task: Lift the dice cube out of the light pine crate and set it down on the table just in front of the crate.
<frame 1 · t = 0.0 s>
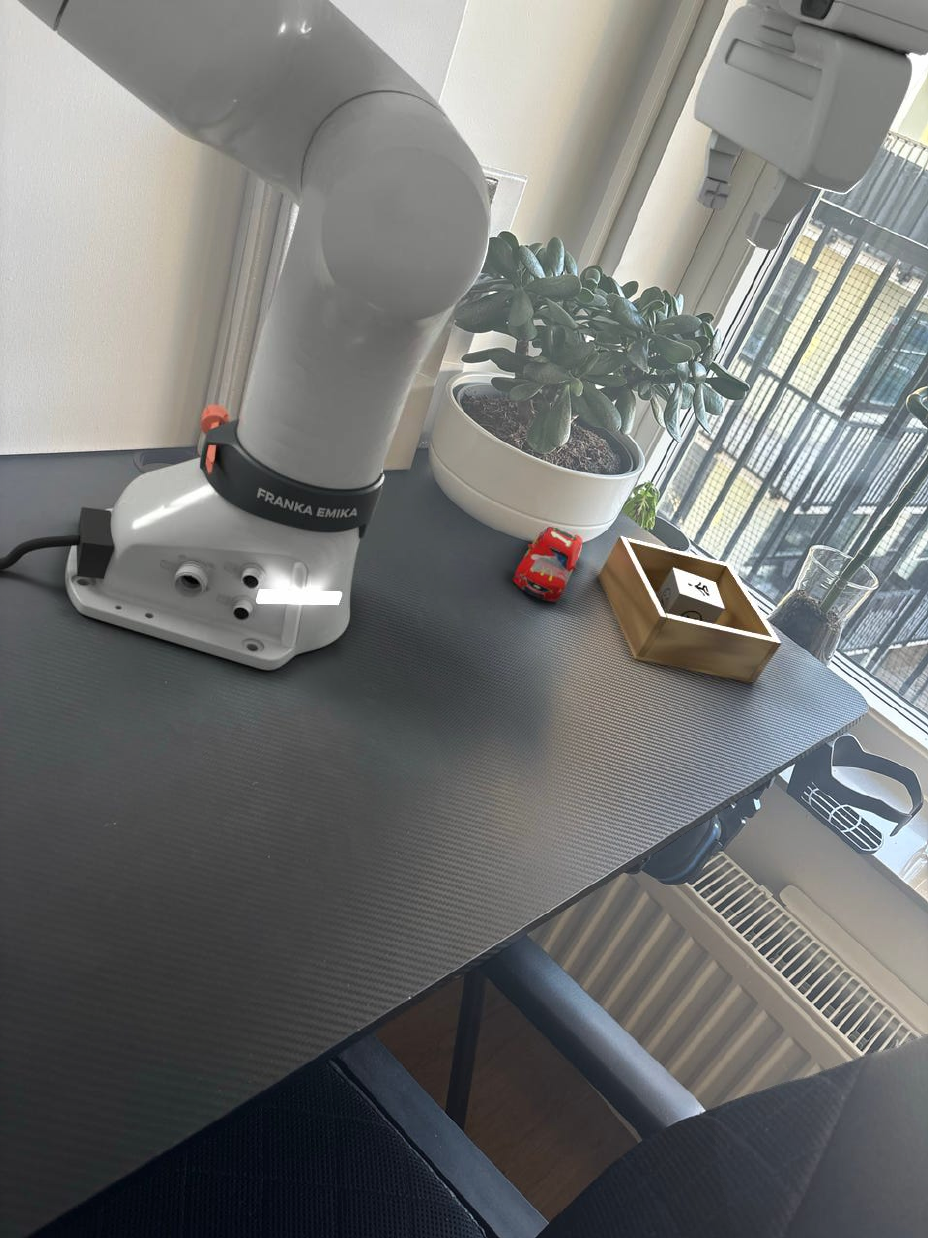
hand: (732, 224, 65), 39 cm above the table, tool pointing down, fingers open, 8 cm apart
dice cube: (674, 626, 100), resting on crate
crate: (673, 628, 100), on the table
race car: (542, 574, 99), on the table
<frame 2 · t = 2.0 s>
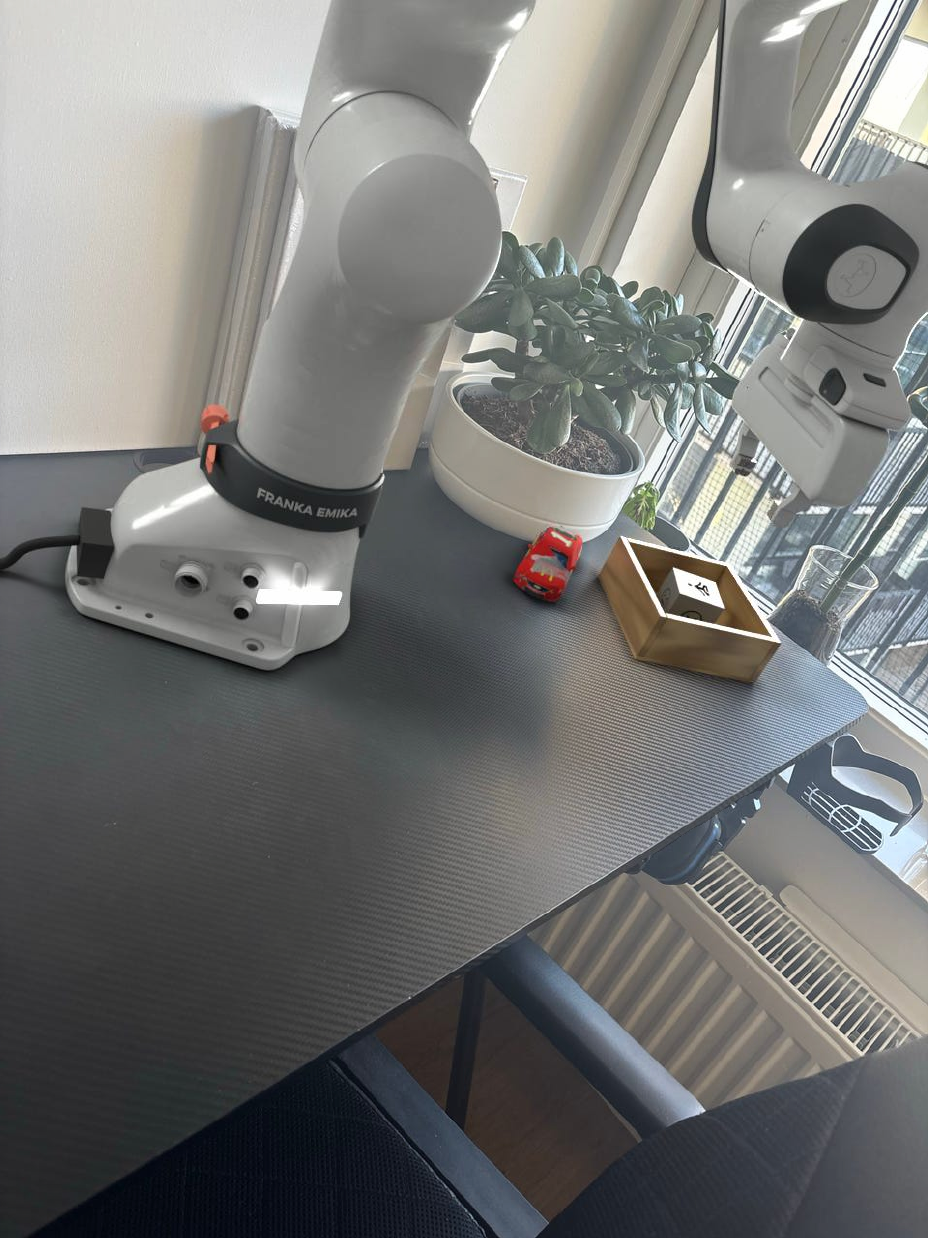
hand: (755, 496, 91), 17 cm above the table, tool pointing down, fingers open, 8 cm apart
nothing on the table moved.
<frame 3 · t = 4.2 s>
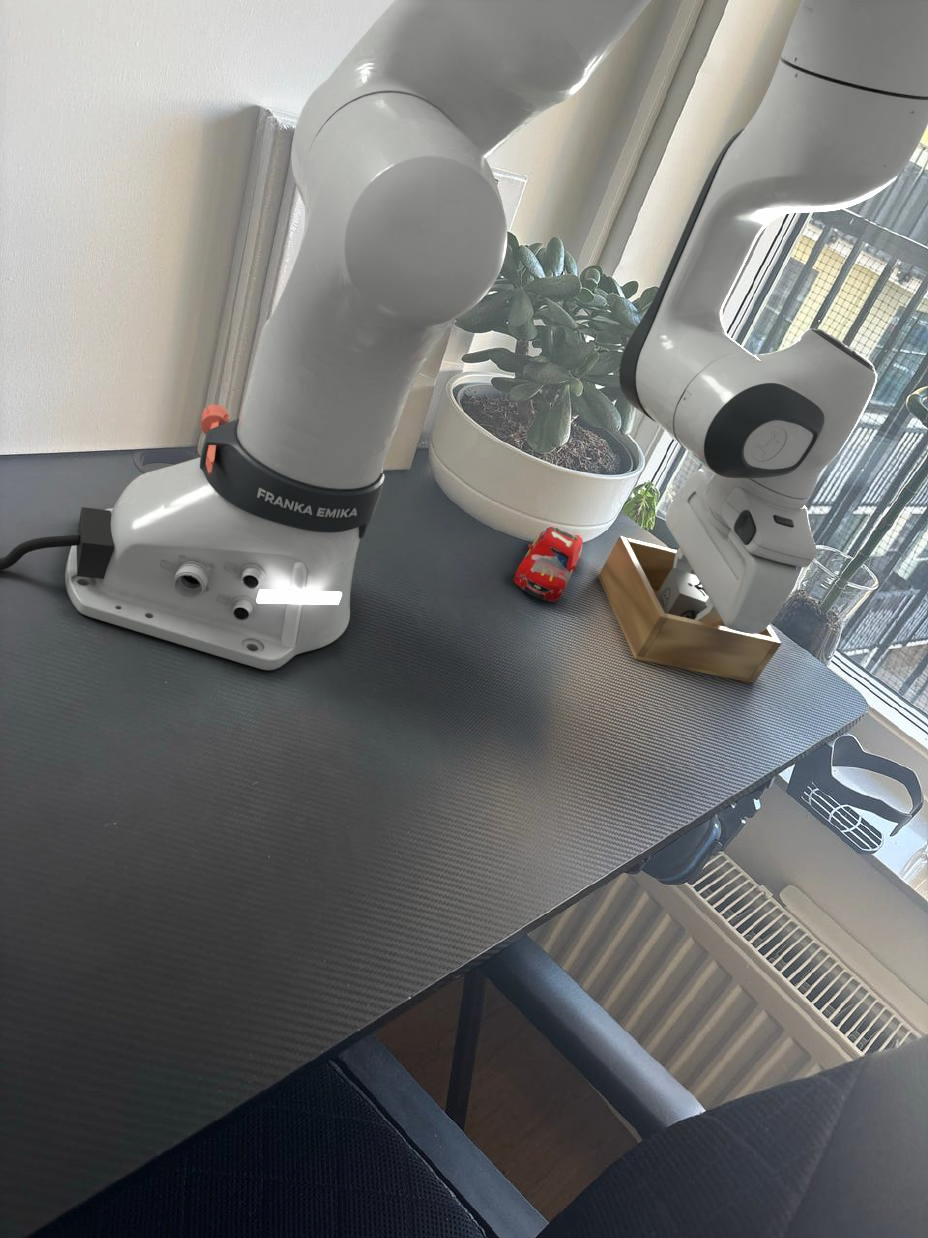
hand: (684, 610, 98), 2 cm above the table, tool pointing down, fingers closed on dice cube, 5 cm apart
dice cube: (674, 626, 100), resting on crate, touching gripper
everything else where it was.
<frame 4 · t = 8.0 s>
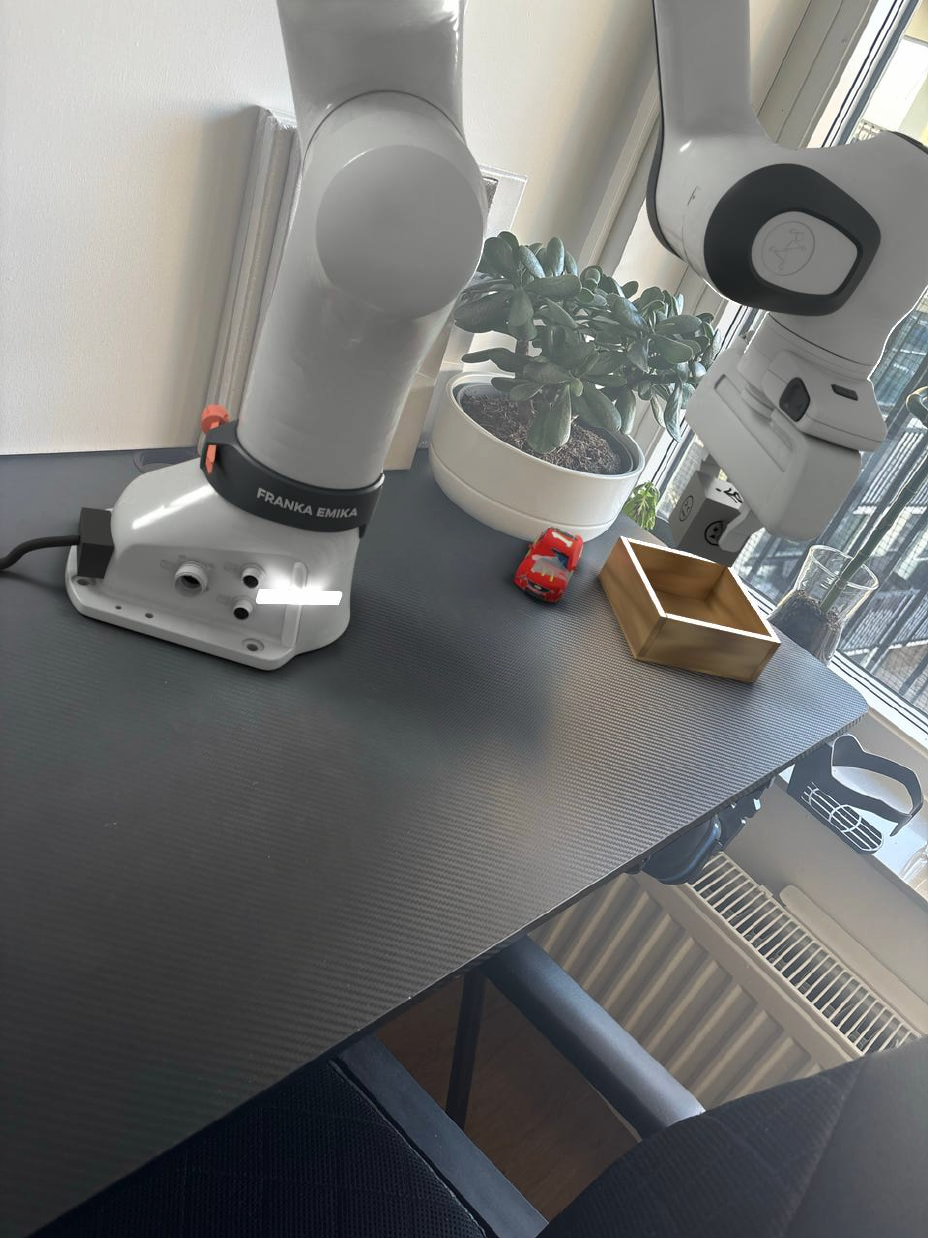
hand: (709, 524, 79), 18 cm above the table, tool pointing down, fingers closed on dice cube, 5 cm apart
dice cube: (697, 545, 80), point 15 cm above the table, touching gripper
everything else where it was.
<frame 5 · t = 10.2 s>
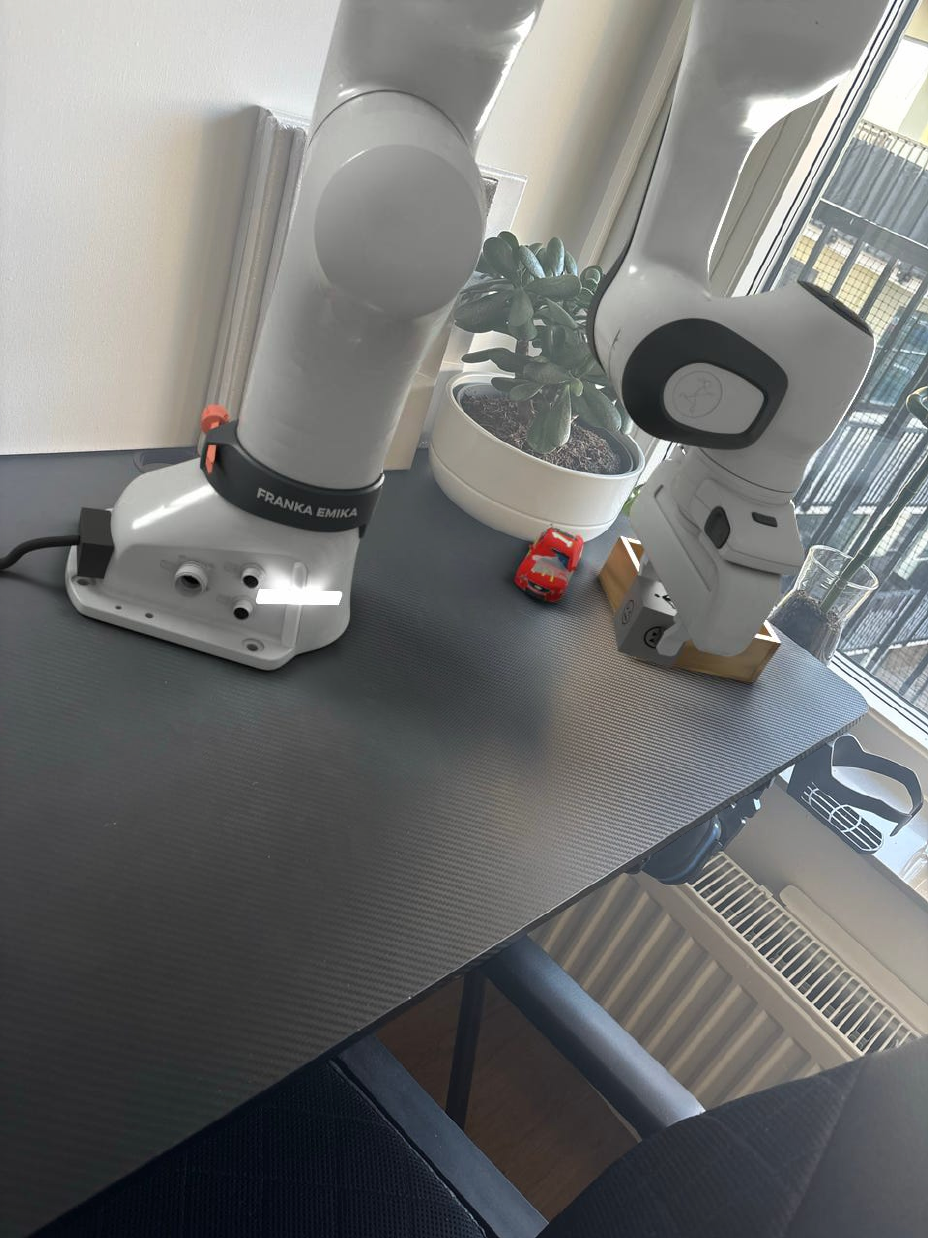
hand: (650, 625, 83), 7 cm above the table, tool pointing down, fingers closed on dice cube, 5 cm apart
dice cube: (639, 644, 84), point 5 cm above the table, touching gripper
everything else where it was.
when the fingers open (2 cm above the table, at t = 12.0 s): dice cube stays where it is, on the table.
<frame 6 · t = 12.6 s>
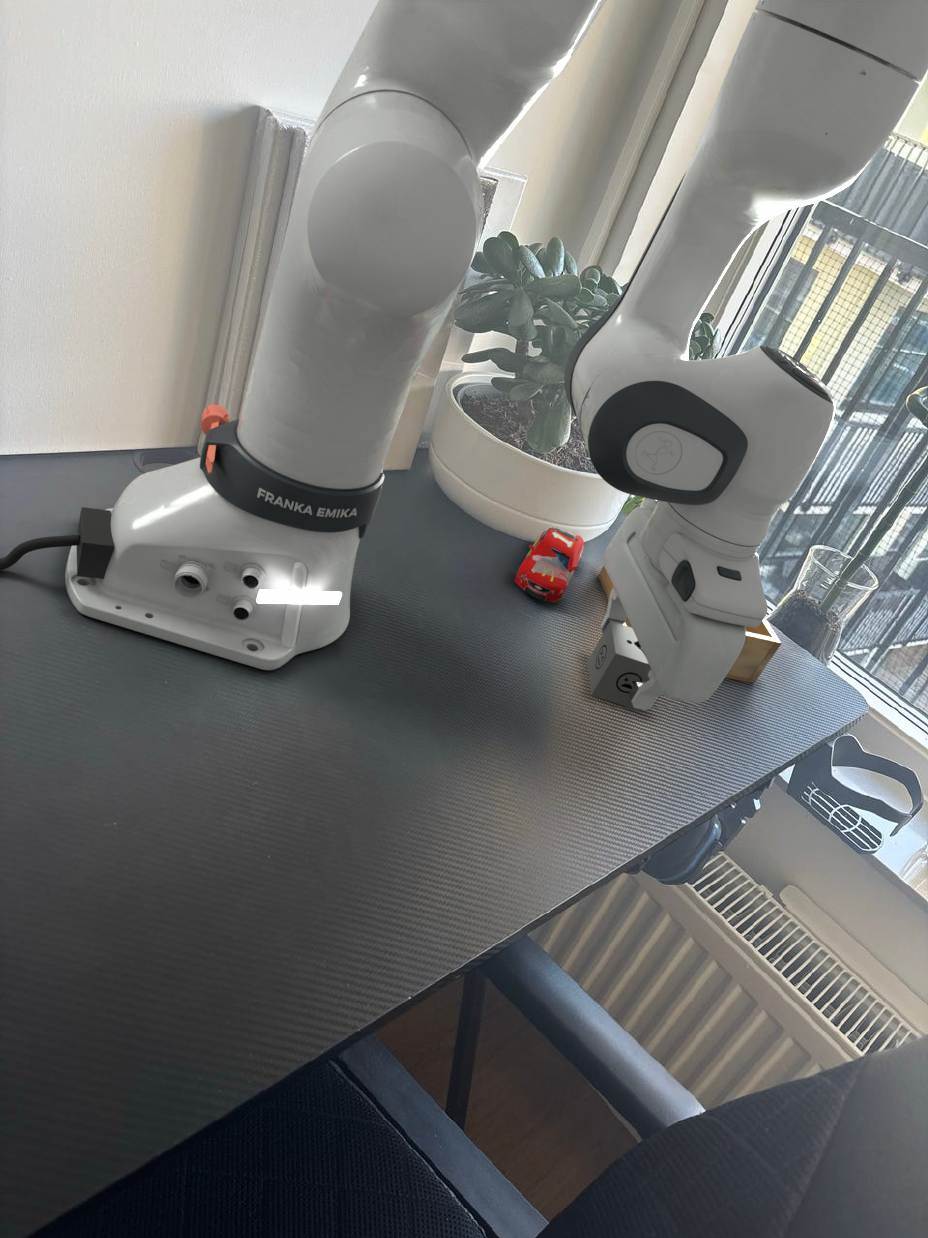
hand: (622, 668, 85), 2 cm above the table, tool pointing down, fingers open, 8 cm apart
dice cube: (613, 687, 87), on the table
everything else where it was.
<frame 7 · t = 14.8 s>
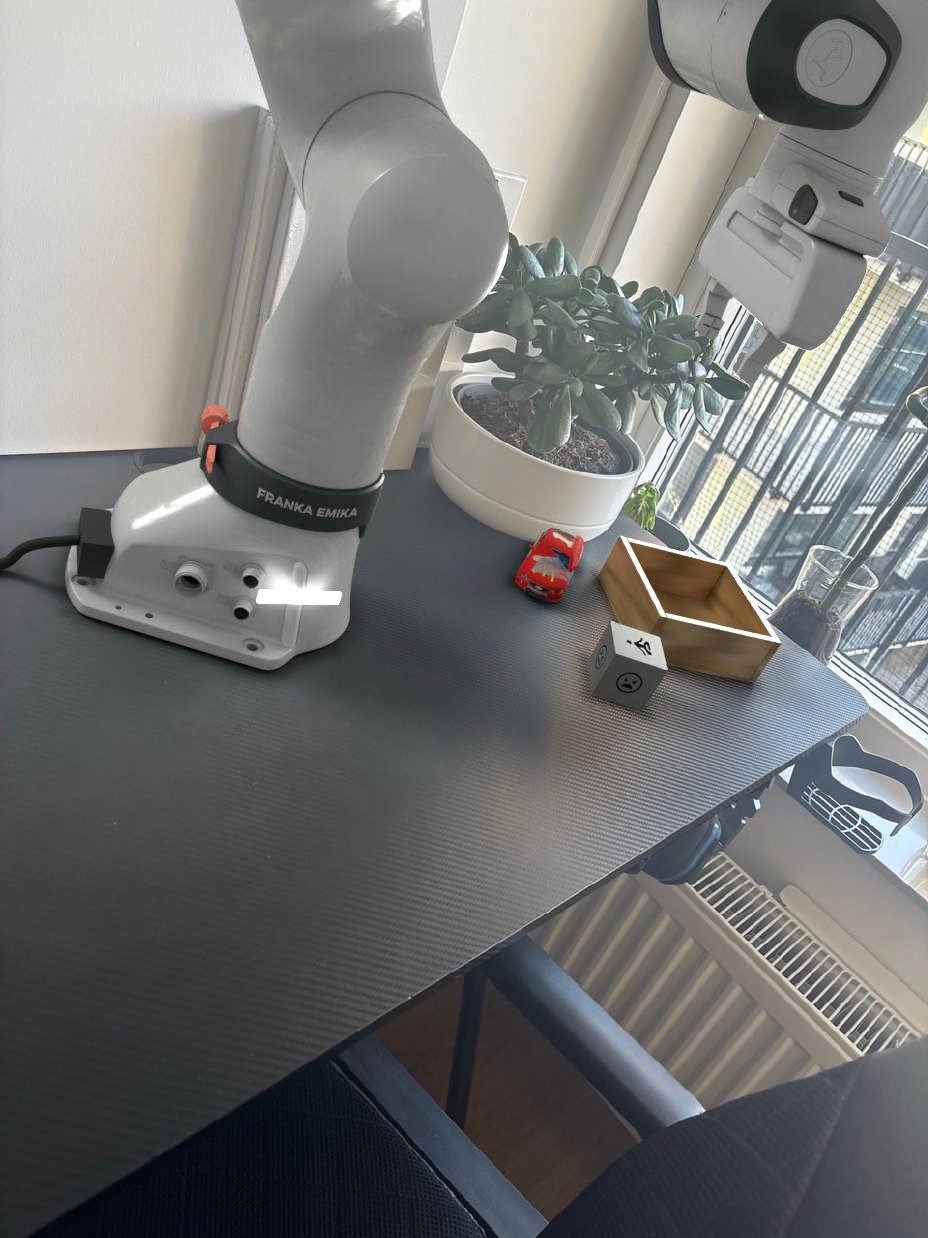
hand: (722, 355, 82), 28 cm above the table, tool pointing down, fingers open, 8 cm apart
nothing on the table moved.
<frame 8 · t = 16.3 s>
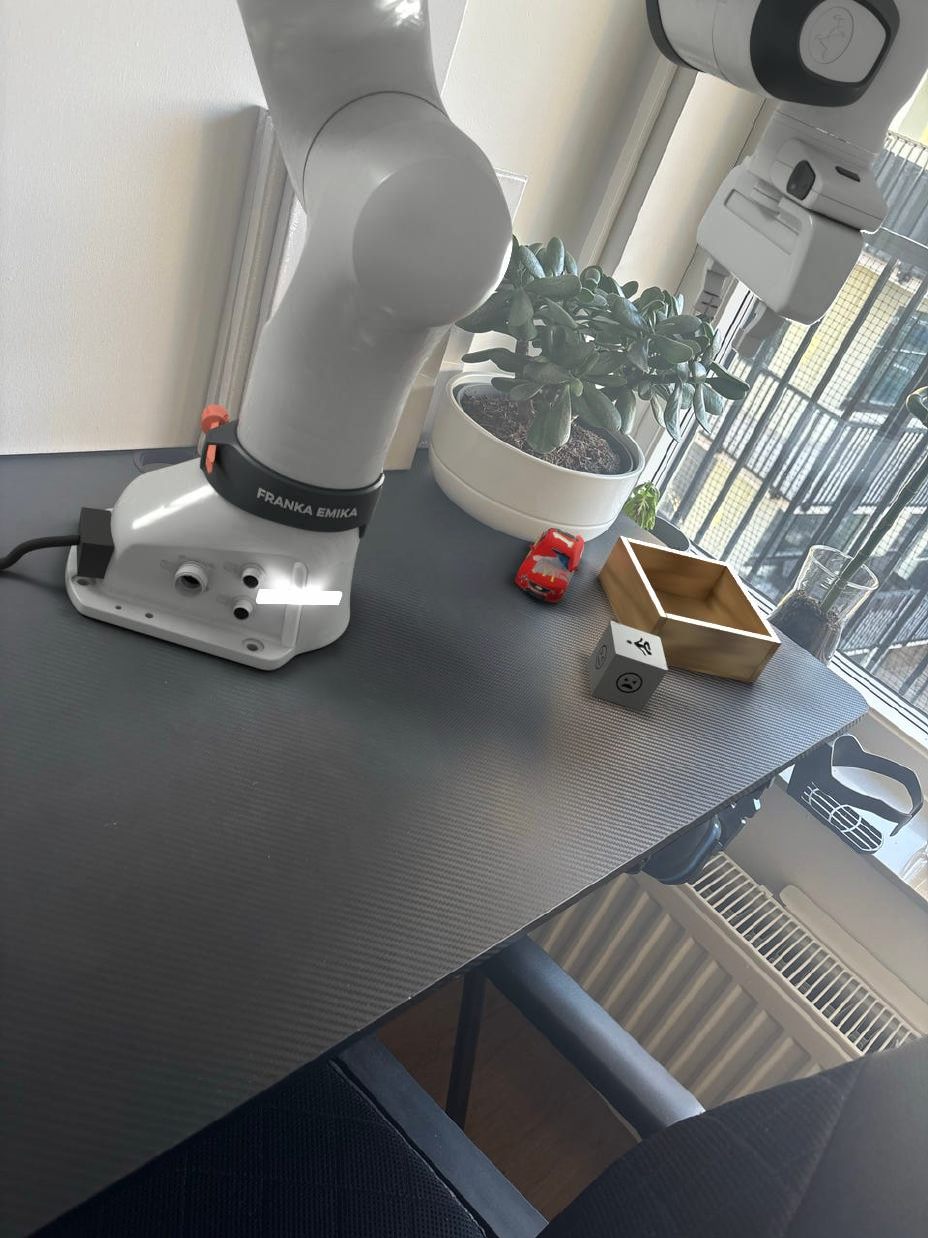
hand: (720, 332, 83), 29 cm above the table, tool pointing down, fingers open, 8 cm apart
nothing on the table moved.
at the end: dice cube inside the target area (0.2 cm from its centre), on the table; dice cube touching table; the gripper is holding nothing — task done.
